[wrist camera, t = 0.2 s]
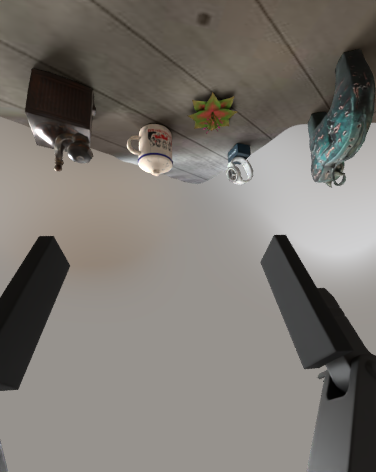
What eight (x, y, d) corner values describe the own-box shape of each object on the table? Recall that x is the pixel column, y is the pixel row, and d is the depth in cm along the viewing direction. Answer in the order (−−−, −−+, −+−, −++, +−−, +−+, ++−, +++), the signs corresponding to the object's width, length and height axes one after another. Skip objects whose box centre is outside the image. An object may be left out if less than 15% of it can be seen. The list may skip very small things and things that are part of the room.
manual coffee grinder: (95, 123, 50) (91, 192, 47) (40, 108, 45) (31, 184, 42) (99, 66, 36) (93, 158, 33) (21, 35, 32) (6, 140, 28)
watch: (231, 141, 59) (233, 177, 57) (254, 146, 61) (258, 180, 60) (222, 152, 64) (224, 185, 62) (244, 156, 67) (246, 188, 65)
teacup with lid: (178, 130, 53) (179, 171, 51) (164, 148, 61) (164, 184, 59) (133, 112, 47) (132, 158, 45) (123, 135, 55) (122, 175, 53)
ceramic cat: (324, 124, 53) (336, 197, 49) (297, 128, 54) (307, 199, 51) (375, 40, 34) (401, 150, 30) (331, 50, 35) (352, 156, 31)
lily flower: (234, 127, 53) (235, 143, 52) (188, 131, 54) (189, 146, 53) (243, 86, 41) (244, 106, 40) (184, 91, 42) (184, 111, 41)
